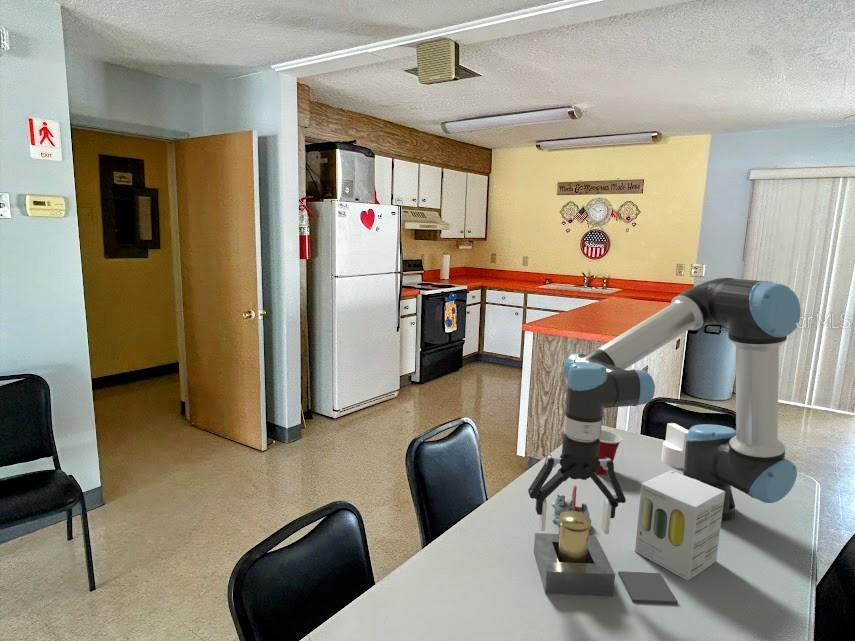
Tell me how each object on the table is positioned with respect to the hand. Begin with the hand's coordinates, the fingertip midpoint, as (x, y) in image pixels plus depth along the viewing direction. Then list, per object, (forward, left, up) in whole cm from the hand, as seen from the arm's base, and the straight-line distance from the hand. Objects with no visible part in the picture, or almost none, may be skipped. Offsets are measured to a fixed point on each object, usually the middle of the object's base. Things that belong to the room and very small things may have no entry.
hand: (573, 529), depth 114 cm
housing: (0, 0, -11) cm, 11 cm away
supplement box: (-26, -8, -11) cm, 30 cm away
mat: (-15, +4, -11) cm, 19 cm away
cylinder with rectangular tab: (-49, -61, -11) cm, 79 cm away
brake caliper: (-5, -20, -11) cm, 23 cm away
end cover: (0, 0, -11) cm, 11 cm away
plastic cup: (-22, -53, -11) cm, 59 cm away
